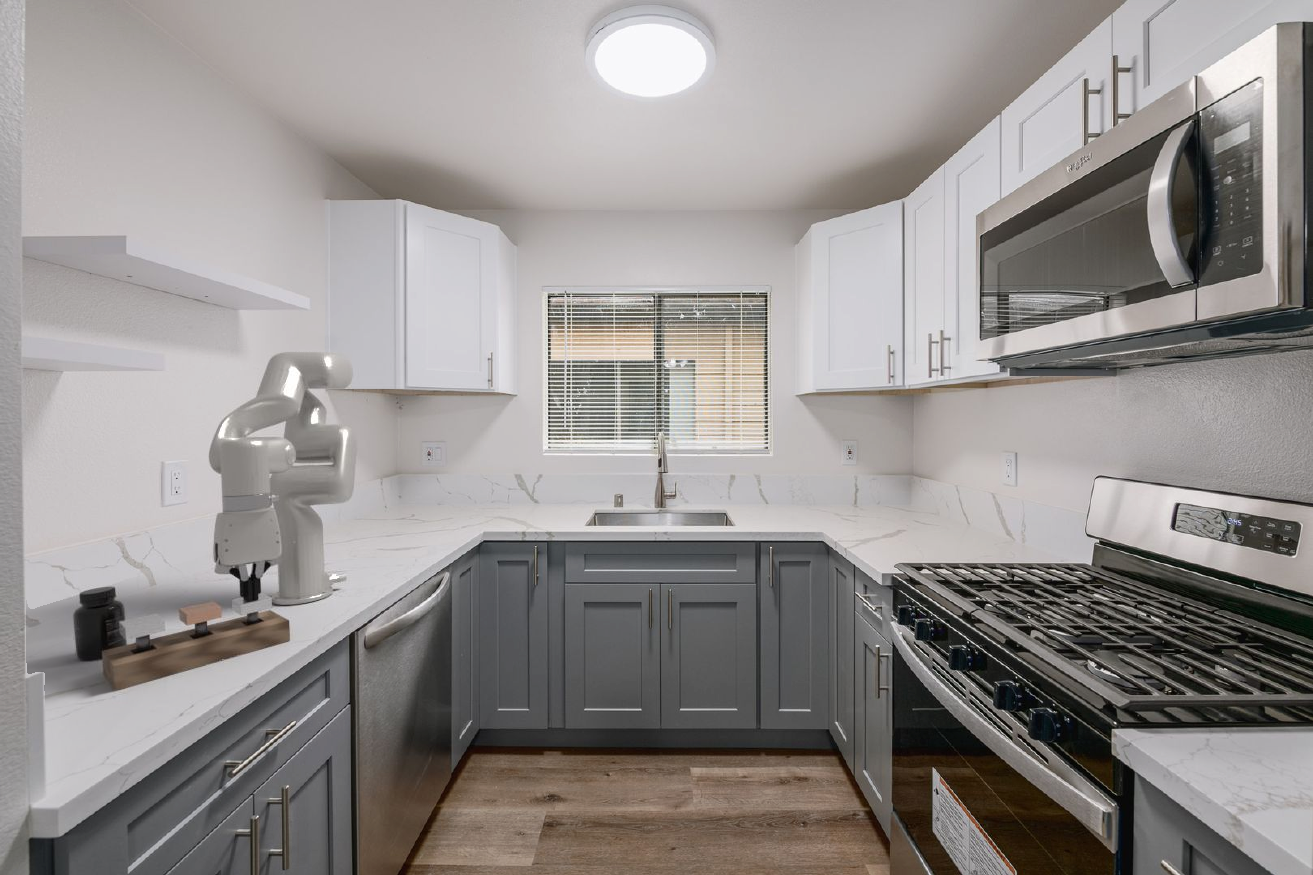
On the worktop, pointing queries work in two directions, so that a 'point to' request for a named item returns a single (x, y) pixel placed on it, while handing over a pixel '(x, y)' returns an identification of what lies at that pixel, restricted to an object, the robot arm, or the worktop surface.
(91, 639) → the supplement bottle
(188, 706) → the worktop surface
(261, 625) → the button panel
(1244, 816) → the worktop surface
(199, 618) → the middle button
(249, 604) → the button
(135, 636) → the button
